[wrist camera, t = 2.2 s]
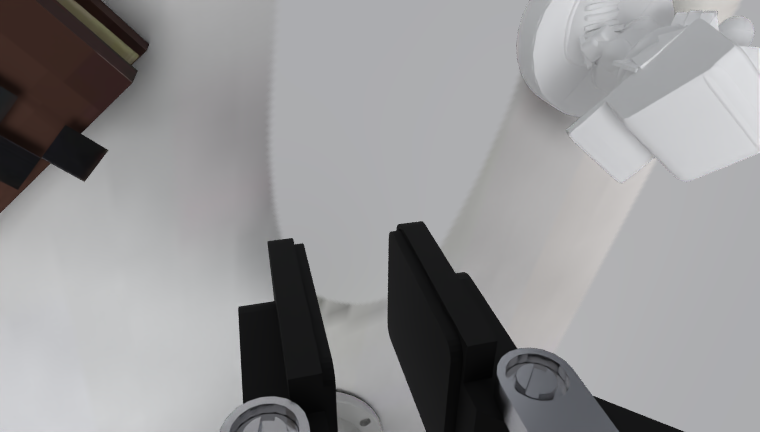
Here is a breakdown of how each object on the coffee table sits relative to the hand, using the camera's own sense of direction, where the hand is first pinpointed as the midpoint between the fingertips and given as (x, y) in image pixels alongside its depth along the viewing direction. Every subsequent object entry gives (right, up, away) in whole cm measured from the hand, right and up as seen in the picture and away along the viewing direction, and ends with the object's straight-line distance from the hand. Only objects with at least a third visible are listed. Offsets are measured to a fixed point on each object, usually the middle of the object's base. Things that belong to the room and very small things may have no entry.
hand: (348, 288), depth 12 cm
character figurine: (+12, +12, +20) cm, 26 cm away
